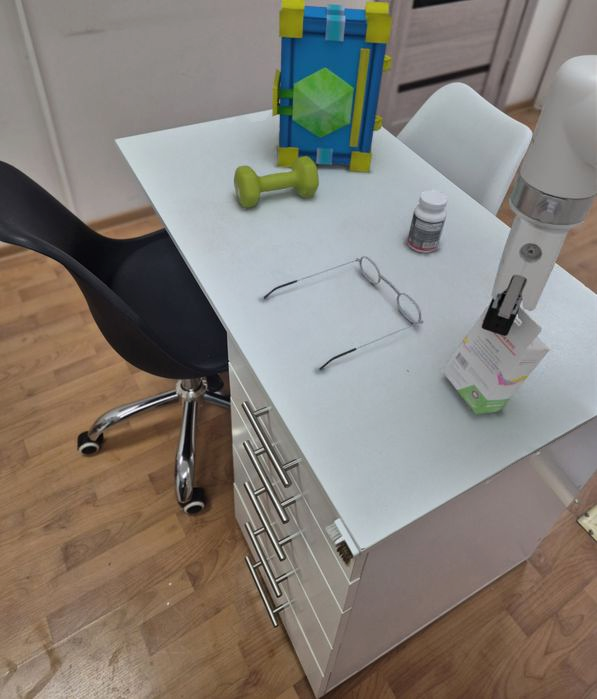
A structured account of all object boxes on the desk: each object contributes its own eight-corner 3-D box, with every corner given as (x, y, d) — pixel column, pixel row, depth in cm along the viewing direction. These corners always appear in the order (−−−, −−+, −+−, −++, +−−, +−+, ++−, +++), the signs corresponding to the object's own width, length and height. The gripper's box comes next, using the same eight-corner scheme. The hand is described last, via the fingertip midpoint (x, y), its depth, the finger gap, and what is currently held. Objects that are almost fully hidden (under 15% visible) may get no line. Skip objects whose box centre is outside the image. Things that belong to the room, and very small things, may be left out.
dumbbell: (243, 215, 105) (242, 181, 100) (231, 194, 110) (229, 161, 105) (321, 201, 110) (324, 168, 105) (305, 182, 115) (308, 149, 110)
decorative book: (275, 141, 127) (278, -8, 106) (373, 148, 127) (396, 0, 106) (271, 172, 117) (272, 13, 96) (377, 178, 118) (403, 22, 96)
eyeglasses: (423, 330, 85) (428, 311, 82) (320, 374, 78) (321, 355, 75) (358, 266, 96) (361, 248, 93) (263, 300, 89) (262, 281, 86)
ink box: (500, 413, 74) (569, 332, 66) (474, 415, 72) (543, 331, 63) (464, 368, 80) (524, 288, 71) (439, 369, 77) (498, 286, 69)
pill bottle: (413, 232, 104) (425, 185, 97) (442, 242, 102) (455, 194, 95) (402, 247, 100) (412, 199, 93) (430, 257, 99) (444, 209, 91)
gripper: (584, 245, 49) (515, 379, 62) (596, 173, 58) (534, 303, 71) (499, 222, 51) (450, 357, 64) (525, 156, 60) (477, 285, 73)
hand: (495, 328), depth 68 cm, fingers closed
